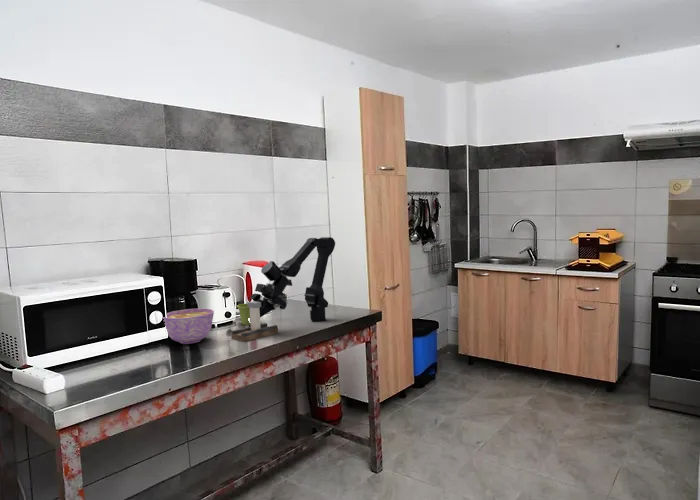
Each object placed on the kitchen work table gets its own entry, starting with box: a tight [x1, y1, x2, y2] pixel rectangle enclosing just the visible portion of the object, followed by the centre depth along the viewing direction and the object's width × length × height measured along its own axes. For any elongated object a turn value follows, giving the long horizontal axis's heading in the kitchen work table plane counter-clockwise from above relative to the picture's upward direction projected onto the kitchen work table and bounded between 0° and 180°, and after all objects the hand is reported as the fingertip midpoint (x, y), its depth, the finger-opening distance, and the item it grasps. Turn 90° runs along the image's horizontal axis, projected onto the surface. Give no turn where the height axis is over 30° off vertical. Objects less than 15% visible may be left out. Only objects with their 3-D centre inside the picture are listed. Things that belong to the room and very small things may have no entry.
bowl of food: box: [162, 308, 215, 345], centre depth 205 cm, size 20×20×12 cm
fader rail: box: [230, 322, 279, 342], centre depth 209 cm, size 17×9×3 cm, turn 136°
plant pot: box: [236, 303, 251, 326], centre depth 235 cm, size 9×9×9 cm
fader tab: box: [246, 300, 261, 330], centre depth 209 cm, size 3×5×12 cm, turn 46°
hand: (257, 317), depth 210 cm, fingers closed, pressing on fader tab
